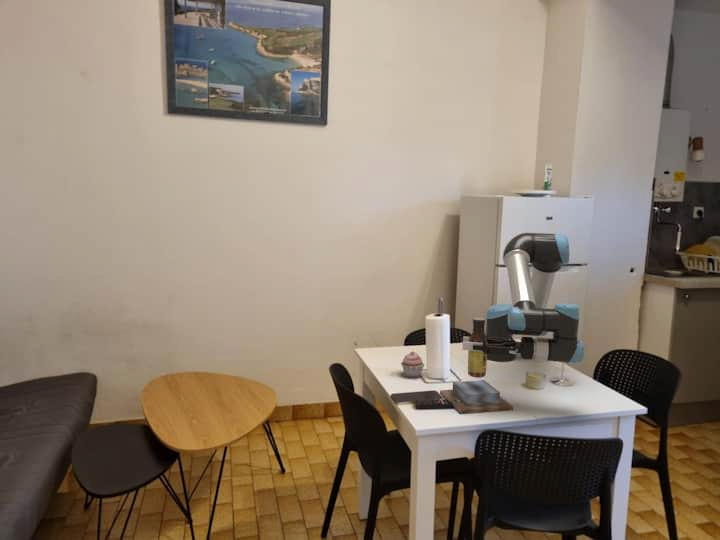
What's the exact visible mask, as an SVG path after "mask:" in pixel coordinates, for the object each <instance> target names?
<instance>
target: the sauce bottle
mask: <svg viewBox="0 0 720 540" xmlns="http://www.w3.org/2000/svg"><path fill="white" fill-rule="evenodd" d="M472 324H473V325H472V333H471V334H470V336H469V337H470V338H469V342H476V343H483V342H485V344H487V343H488V342H487V339H486V331H485V324H486V319H485V318H483V317H474V318H473V319H472ZM467 351H468V354H467V355H468V357H467V375H469V377H472V378H478V379H479V378H480V379H481V378H484V377H486V375H487V374H486V373H487V363H488V359H487V354H485V352H482V351H470V350H467Z"/></svg>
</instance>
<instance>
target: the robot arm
mask: <svg viewBox="0 0 720 540" xmlns="http://www.w3.org/2000/svg"><path fill="white" fill-rule="evenodd" d="M502 261H503V264H504V266H505V268H507V269H506V270H507V274H508V275H507V276H508V277H507V278H508V283H509V289H510V297H511V303H512V304H511V303H510V304H509V303H500V304H498V303H497V304H494V305H491V306H489V307H488V308H487V310H486V315H485V318H486V319H485V324H486V325H485V335H486V339H487V342H488V343H487V344H485V342H483V343H476V342H469V338H470V336H463V337H462V348H461V349H462V350H461V351H469V350H470V351H482V352H485V354H487V360H489V361H493V362H495V361H496V362H511V361H514V360H515V359H516V355H517V354H520V359H521V360H530V361H531V360H533V359H534V360H535V361H540V363H543V362H557V363H562V362H565V363H566V364H580V363H582V362H583V361H584V358H585V343H584V342H583V341H582V340H579V338H578V334H579V333H578V332H579V324H580V323H579V322H580V308H579V306H578V305H577V304H575V303H570V302H557V303H555V305H554V307H553V308H548V302H549V299H550V295H551V291H552V289H553V284H554V280H555V276H556V273H557V272H559V271H560V270H561V269H562V266H563V265H568V264H569V262H570V243H569V238H568V237H567V235H566V234H563V233H557V232H554V233H545V232H544V233H543V232H542V233H541V232H540V233H539V232H523V233H519V234H517V235H515V236H514V237H513V238H511V239H510V240H509V241H508V242H507V244H506V246H505V248H504V250H503V253H502ZM529 264H531V266H532V268H533V270H532V273H530V272H531V271H530V266H529ZM549 333H552V338H551V337H550V338H549V337H543V336H546V335H548V334H549ZM514 335H515V336H517V335H518V336H522V337H521V339H520V341H516V339H514V337H513V336H514ZM532 336H533V337H534V338H533V337H532Z"/></svg>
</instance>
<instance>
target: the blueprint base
mask: <svg viewBox="0 0 720 540" xmlns="http://www.w3.org/2000/svg"><path fill="white" fill-rule="evenodd" d="M439 394H440V396H442V397H443V398H444V399H445V400H446V399H447V400H449V401H451V402H452V404H453V406H454V407H453V406H452V407H453V408H454V410H455V411H456V412H457V413H458V414H459V415H464V414H465V415H466V414H479V413H493V412H502V411H503V412H504V411H507V412H508V411H513V410H514V405H512V404H511V403H509V402H508V401H507V400H506V399H505V398H503V397H502V396H501V392H500V391H499V390H497V388H495V387H494V386H493V385H492V384H490V383H488V382H487V381H486V380H484V379H482V380H468V381H467V380H466V381H465V380H464V381H452V389H442V390H439ZM447 400H446V401H447ZM454 400H461V401H462V403H461V402H460V403H458V402H454Z"/></svg>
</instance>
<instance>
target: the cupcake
mask: <svg viewBox="0 0 720 540" xmlns="http://www.w3.org/2000/svg"><path fill="white" fill-rule="evenodd" d="M402 359H403V360H402V362H400V364H401V367H402V370H403V376H405V377H406V376H407V377H406V378H409V379H411V378H412V379H416V378H419V377H420V376H421V375H422V372H423V369H424V367H425V364H424V362H423V359H422V358H421V356H420V354H419V353H418V352H415V351H414V350H412V351H410V352H409V353H408V354H405V355H404V358H402Z"/></svg>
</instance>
